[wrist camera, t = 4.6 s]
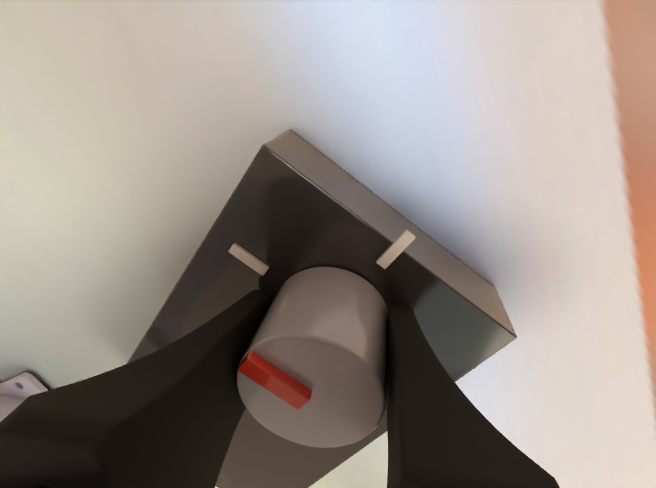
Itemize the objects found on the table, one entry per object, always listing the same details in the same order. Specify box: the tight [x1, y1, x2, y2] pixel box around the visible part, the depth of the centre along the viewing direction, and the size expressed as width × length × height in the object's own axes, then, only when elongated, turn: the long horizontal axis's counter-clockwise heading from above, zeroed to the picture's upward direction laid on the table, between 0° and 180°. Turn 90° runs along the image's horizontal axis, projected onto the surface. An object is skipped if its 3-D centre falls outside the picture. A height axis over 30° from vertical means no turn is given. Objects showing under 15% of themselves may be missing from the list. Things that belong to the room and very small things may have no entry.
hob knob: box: [237, 267, 389, 447], centre depth 11 cm, size 4×4×4 cm
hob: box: [127, 130, 517, 488], centre depth 16 cm, size 17×10×3 cm, turn 144°
